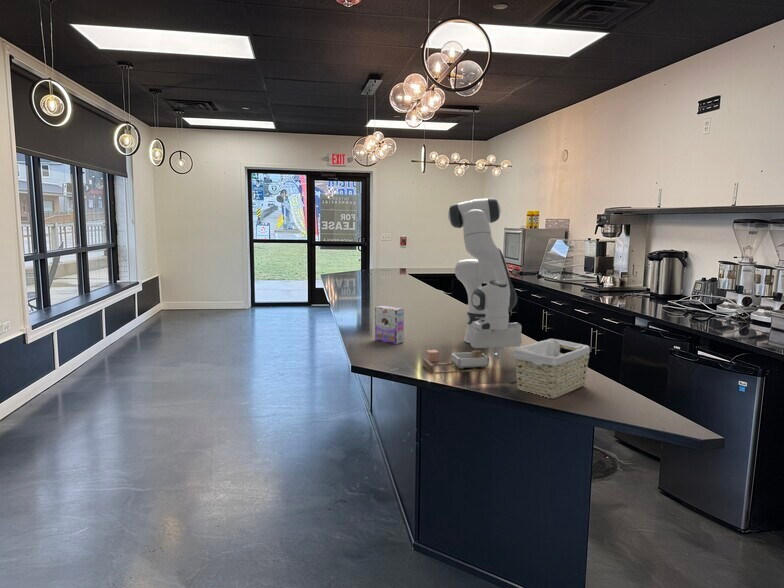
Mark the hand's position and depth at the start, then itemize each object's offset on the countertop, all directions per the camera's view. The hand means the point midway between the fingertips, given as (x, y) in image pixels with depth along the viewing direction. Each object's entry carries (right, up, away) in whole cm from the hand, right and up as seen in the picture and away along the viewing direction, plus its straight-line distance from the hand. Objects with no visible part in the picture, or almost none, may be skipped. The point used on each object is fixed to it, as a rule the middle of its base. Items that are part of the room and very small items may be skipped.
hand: (495, 358), depth 201 cm
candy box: (-41, +2, +44) cm, 61 cm away
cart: (-10, -3, -2) cm, 11 cm away
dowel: (-8, -1, -2) cm, 8 cm away
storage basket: (+15, -8, -22) cm, 28 cm away
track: (-15, -4, -3) cm, 16 cm away
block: (-24, -3, +7) cm, 25 cm away
